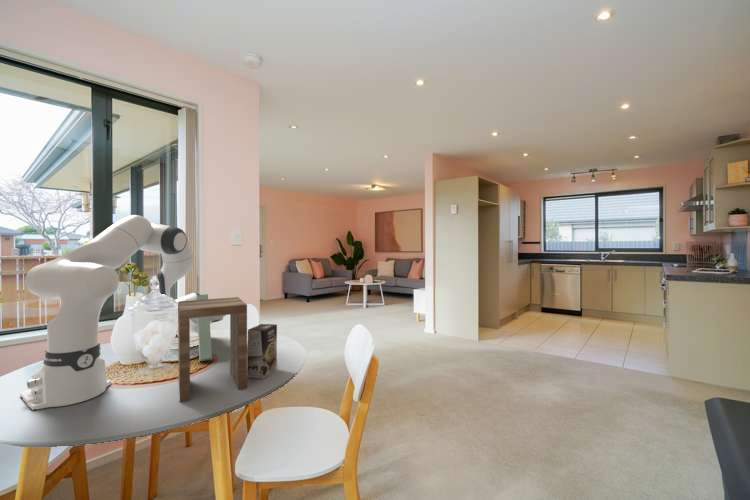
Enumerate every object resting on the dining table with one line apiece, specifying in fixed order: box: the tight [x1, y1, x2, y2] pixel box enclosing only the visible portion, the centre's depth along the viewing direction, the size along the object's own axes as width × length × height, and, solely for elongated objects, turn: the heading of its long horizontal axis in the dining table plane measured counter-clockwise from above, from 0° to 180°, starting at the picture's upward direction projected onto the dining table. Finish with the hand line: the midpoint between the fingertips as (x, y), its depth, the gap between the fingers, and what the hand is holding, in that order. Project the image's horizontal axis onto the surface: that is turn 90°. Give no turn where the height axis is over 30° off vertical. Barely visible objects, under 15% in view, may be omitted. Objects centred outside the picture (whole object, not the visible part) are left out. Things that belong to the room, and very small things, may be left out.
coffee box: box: [247, 323, 278, 380], centre depth 117 cm, size 9×6×16 cm
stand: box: [177, 296, 248, 403], centre depth 107 cm, size 16×18×26 cm
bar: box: [196, 294, 213, 362], centre depth 133 cm, size 26×4×4 cm
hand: (203, 304), depth 135 cm, fingers closed on bar, 4 cm apart
